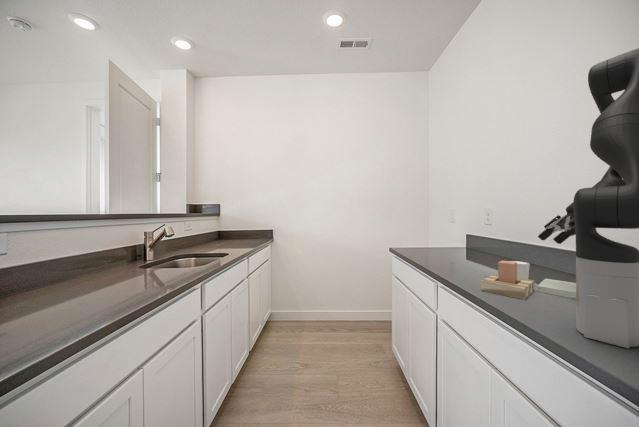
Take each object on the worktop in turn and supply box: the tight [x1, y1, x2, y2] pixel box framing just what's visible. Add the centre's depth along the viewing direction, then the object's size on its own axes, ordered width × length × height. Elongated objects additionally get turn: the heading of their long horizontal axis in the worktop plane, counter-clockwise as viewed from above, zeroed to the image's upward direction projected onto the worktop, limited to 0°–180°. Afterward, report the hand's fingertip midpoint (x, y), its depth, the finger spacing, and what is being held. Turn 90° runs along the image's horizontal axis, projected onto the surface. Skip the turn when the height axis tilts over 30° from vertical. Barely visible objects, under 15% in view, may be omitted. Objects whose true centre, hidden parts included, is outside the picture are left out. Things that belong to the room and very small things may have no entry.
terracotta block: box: [497, 260, 517, 284], centre depth 86 cm, size 4×4×10 cm
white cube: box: [510, 260, 531, 279], centre depth 100 cm, size 7×7×7 cm
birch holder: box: [480, 273, 536, 300], centre depth 86 cm, size 14×12×4 cm
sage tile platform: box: [537, 278, 576, 300], centre depth 84 cm, size 14×14×2 cm
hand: (547, 240), depth 83 cm, fingers open, 8 cm apart
